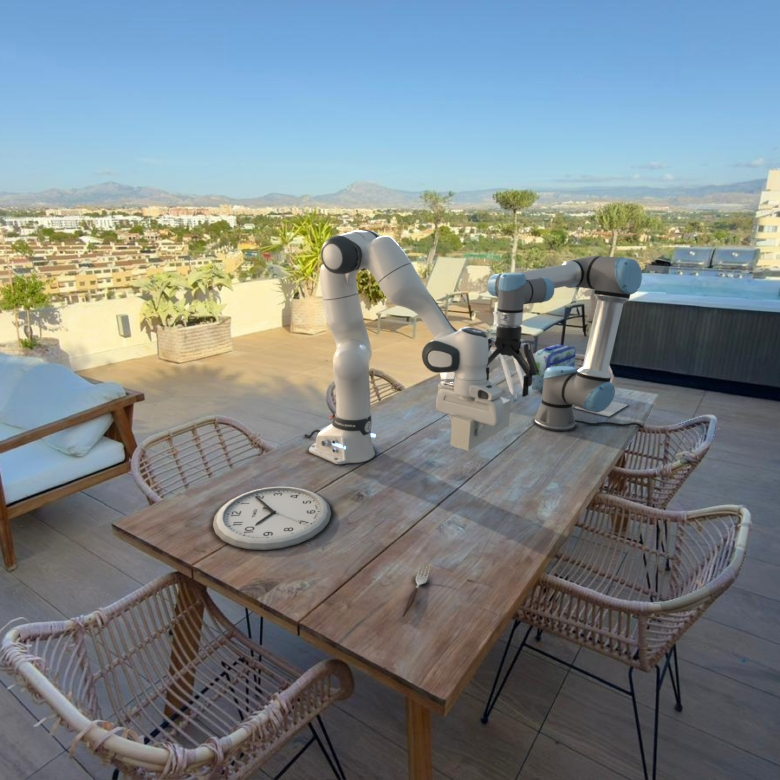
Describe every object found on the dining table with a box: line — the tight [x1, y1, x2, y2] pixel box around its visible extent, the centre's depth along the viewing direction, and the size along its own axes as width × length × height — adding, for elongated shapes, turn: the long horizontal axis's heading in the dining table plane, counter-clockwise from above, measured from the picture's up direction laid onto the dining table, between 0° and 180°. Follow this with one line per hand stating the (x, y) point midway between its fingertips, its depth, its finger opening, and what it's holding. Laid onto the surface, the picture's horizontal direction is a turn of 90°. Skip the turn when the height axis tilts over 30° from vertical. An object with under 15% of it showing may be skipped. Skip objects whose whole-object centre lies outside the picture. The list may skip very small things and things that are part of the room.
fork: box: [402, 562, 432, 618], centre depth 108 cm, size 3×16×2 cm, turn 160°
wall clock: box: [212, 486, 332, 551], centre depth 136 cm, size 30×2×30 cm
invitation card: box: [573, 400, 629, 418], centre depth 226 cm, size 21×1×15 cm
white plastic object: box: [439, 310, 531, 400], centre depth 245 cm, size 37×45×31 cm
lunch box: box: [530, 344, 577, 392], centre depth 247 cm, size 26×11×21 cm, turn 134°
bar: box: [450, 396, 512, 452], centre depth 157 cm, size 26×6×9 cm, turn 142°
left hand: (466, 432), depth 150 cm, fingers closed on bar, 6 cm apart
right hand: (504, 391), depth 166 cm, fingers open, 13 cm apart
